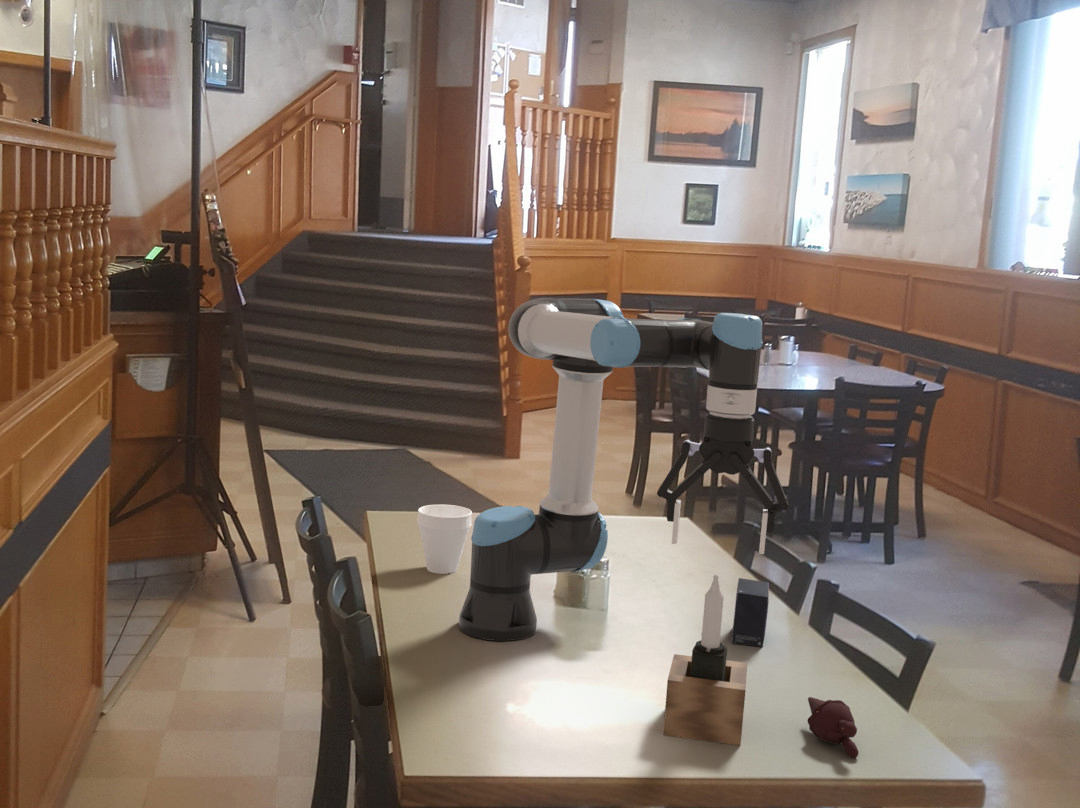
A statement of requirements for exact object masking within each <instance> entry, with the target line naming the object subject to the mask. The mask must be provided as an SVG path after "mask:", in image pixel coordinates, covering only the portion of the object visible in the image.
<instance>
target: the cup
mask: <svg viewBox="0 0 1080 808" xmlns="http://www.w3.org/2000/svg"><path fill="white" fill-rule="evenodd" d="M417 513H418V514H417V519H416V524H417V525H418V527H419V528H418V529H419V532H420V538H421V543H422V549H423V554H424V561H425V564H426V565H425V566H426V570H427V571H428V572H430V573H432V574H433V573H434V574H437V575H438V574H439V575H440V574H441V575H447V574H448V573H450V574H454V573H456V572H457V571H458V569H459V566H460V561H461V558H462V555H463V551H464V549H465V544H466V541H467V537H468V534H469V530H470V527H472V525H473V524H472V514H473V512H472V510H471V509H470V508H467V507H464V506H460V505H453V504H428V505H423V506H421V507H419V508H418V509H417ZM453 572H454V573H453Z"/></svg>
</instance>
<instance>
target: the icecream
mask: <svg viewBox="0 0 1080 808" xmlns="http://www.w3.org/2000/svg"><path fill="white" fill-rule="evenodd" d="M807 701H808V706H809V708H810V712H811V715H810V716H809V717H808V718H807V724H808V727H809V731H810V732H812V734H813V735H814V736H815V737H816V738H817V739H819V740H821V741H823V742H826V743H829V744H832V745H839V744H841V745H842V748H843V749H844V751H845V753H846V754H847V755H848V756H849V757H850V758H852V759H856V758H857V757H858V756H859V752H860V751H859V749H858V747H857V745H856V743H855V742H854V741H853V740H852V738H854V737H855V736H856V735H857V731H858V728H857V726H856V724H855V723H856V722H855V719H854V716H853V714H852V711H851V708H850V707H849V705H847V704H846V703H845V702H844V701H843V700H839V699H838V700H837V699H835V700H833V699H828V700H822V699H819V698H815V697H811V696H809V697H807Z"/></svg>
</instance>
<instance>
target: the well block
mask: <svg viewBox="0 0 1080 808" xmlns="http://www.w3.org/2000/svg"><path fill="white" fill-rule="evenodd" d="M691 661H692V655H684V654H677V653H676V654H673V656H672V662H671V664H670V670H669V673H668V677H667V684H666V693H665V694H666V695H665V696H666V697H665V707H664V708H665V709H664V720H663V722H664V723H663V731H662V733H663V735H664V736H671V737H678V738H683V739H684V738H685V739H691V740H698V741H706V742H712V743H719V744H727V745H734V746H741V744H742V743H741V742H742V736H743V735H742V733H743V724H744V723H743V721H744V713H745V712H744V710H745V700H746V690H747V689H746V688H747V676H748V673H747V672H748V663H747V662H739V661H731V660H726V668H725V680H724V681H716V680H709V679H701V678H693V677H690V673H691Z"/></svg>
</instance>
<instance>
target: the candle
mask: <svg viewBox="0 0 1080 808" xmlns="http://www.w3.org/2000/svg"><path fill="white" fill-rule="evenodd" d="M712 578H713V579H712V582H711V585H710V587H709V589H708V590H707V591H706V593H705V594H704V605H703V615H702V617H703V619H702V630H701V631H702V632H701V640H698V641H696V643H695V645H694V647H693V648H692V650H691V651H692V654H691V656H692V661H691V673H690V677H693V678H701V679H709V680H716V681H724V680H725V668H726V661H727V654H728V648H727V647H726V646H725V644H723V643H721V634H722V633H721V631H722V621H723V620H722V619H723V608H724V594H723V593H722V590H721V588H720V582H719V574H714V575H713V577H712Z"/></svg>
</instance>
